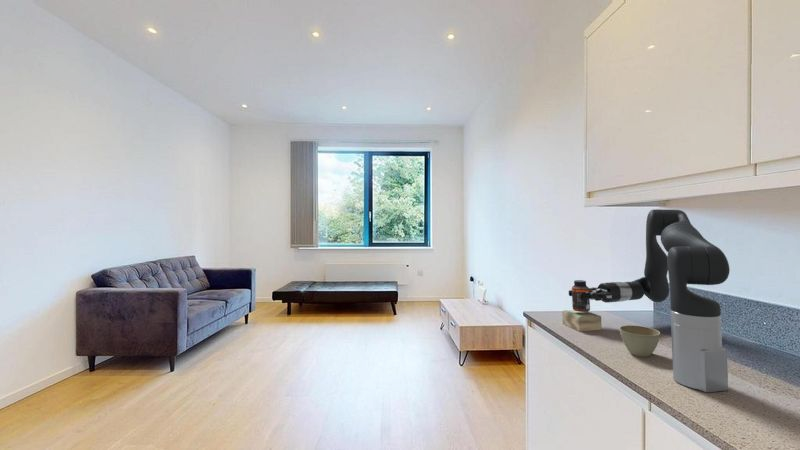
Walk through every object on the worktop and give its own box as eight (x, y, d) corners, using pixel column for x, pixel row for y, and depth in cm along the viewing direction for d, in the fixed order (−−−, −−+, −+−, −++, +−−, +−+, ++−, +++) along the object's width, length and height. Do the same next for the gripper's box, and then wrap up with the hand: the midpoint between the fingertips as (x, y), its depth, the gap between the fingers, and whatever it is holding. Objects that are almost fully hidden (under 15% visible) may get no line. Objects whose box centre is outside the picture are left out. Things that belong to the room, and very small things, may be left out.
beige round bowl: (612, 349, 105) (611, 326, 105) (638, 346, 107) (638, 323, 107) (641, 362, 95) (640, 336, 95) (669, 358, 97) (669, 333, 97)
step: (601, 329, 125) (601, 315, 125) (579, 331, 123) (578, 317, 124) (583, 322, 135) (583, 309, 135) (562, 323, 133) (562, 310, 134)
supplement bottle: (593, 311, 126) (592, 281, 126) (577, 312, 126) (576, 282, 126) (585, 308, 132) (583, 279, 132) (569, 308, 132) (568, 279, 132)
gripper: (600, 279, 138) (562, 282, 136) (628, 285, 124) (586, 288, 122) (601, 297, 138) (563, 300, 136) (629, 305, 124) (587, 309, 122)
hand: (574, 294), depth 129 cm, fingers closed on supplement bottle, 6 cm apart
